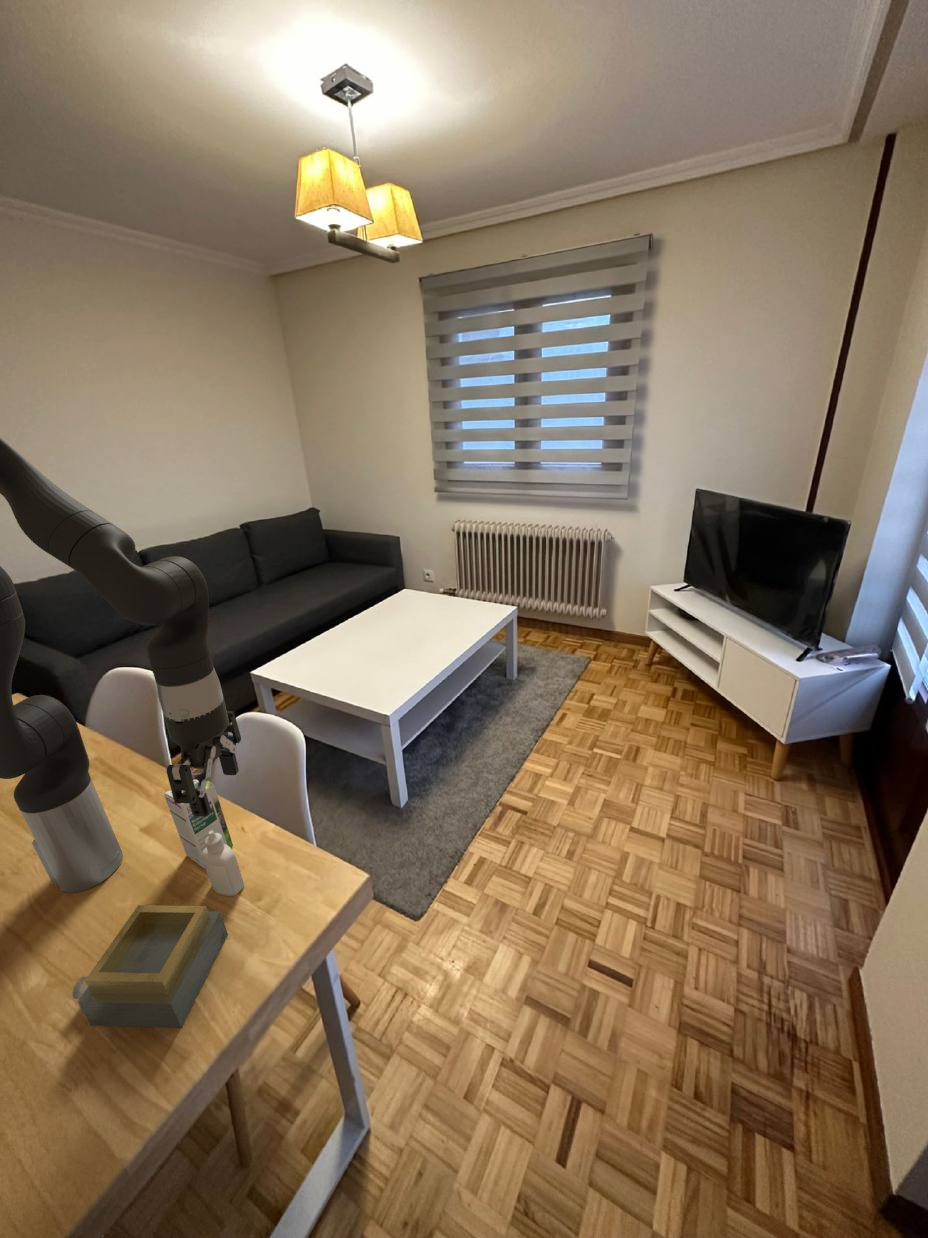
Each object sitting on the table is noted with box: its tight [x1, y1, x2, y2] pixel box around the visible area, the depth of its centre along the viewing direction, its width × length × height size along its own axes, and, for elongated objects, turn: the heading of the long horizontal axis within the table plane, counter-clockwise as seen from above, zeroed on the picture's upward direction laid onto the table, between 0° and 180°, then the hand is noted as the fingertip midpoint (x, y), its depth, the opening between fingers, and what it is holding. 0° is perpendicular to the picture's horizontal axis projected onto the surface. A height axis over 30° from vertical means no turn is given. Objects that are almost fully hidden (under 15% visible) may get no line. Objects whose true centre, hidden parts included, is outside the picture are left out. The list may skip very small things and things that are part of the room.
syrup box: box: [163, 779, 234, 869], centre depth 84 cm, size 6×6×14 cm
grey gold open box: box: [71, 904, 229, 1029], centre depth 65 cm, size 15×12×8 cm
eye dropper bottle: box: [202, 830, 245, 897], centre depth 77 cm, size 4×6×12 cm
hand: (218, 793), depth 73 cm, fingers open, 8 cm apart
